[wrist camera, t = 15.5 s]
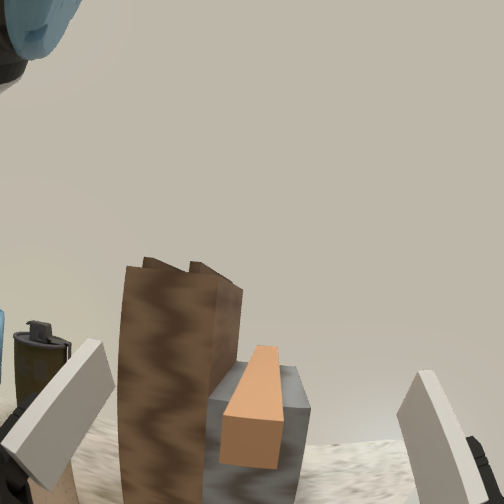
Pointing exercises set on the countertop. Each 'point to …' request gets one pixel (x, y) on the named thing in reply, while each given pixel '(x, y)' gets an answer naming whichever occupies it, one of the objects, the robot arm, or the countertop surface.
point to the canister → (37, 358)
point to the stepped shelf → (192, 393)
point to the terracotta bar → (255, 414)
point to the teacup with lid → (56, 490)
